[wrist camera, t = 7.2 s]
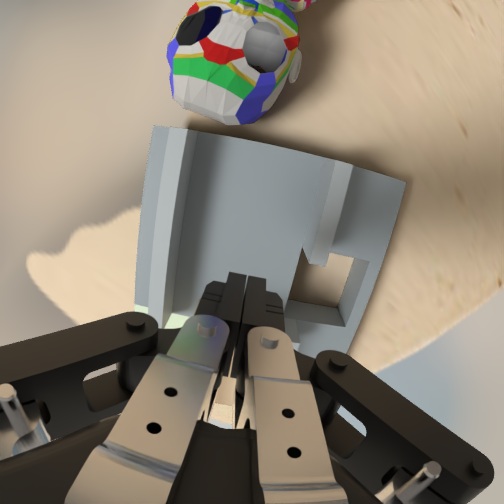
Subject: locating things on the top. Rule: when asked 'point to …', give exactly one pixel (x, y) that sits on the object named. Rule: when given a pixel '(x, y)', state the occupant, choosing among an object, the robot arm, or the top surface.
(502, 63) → the top surface
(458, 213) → the top surface
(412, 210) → the top surface
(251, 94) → the toy
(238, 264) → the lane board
